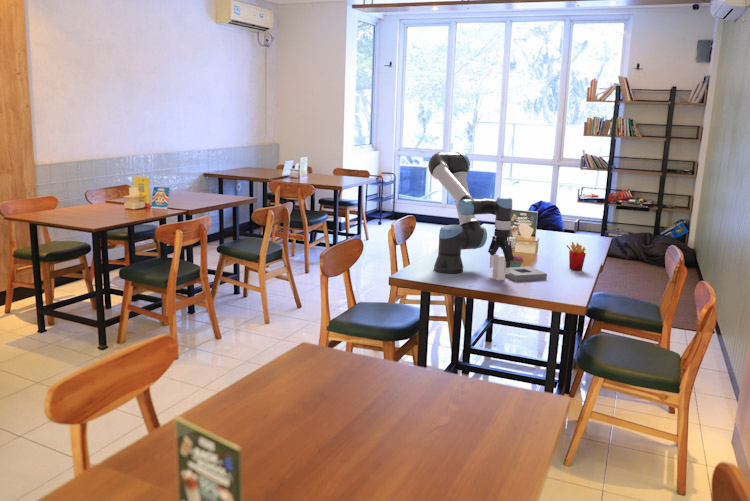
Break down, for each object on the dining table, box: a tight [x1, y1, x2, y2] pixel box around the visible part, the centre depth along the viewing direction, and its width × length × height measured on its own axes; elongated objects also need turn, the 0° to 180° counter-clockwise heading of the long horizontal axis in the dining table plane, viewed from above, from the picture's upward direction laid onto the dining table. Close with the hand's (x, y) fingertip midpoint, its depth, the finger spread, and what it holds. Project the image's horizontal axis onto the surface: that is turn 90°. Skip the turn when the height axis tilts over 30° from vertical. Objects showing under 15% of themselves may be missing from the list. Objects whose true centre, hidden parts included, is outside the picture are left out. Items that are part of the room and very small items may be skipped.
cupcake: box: [510, 246, 525, 267], centre depth 342 cm, size 9×8×12 cm
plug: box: [491, 253, 506, 281], centre depth 318 cm, size 4×4×12 cm
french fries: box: [566, 241, 587, 272], centre depth 343 cm, size 9×8×15 cm
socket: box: [505, 266, 548, 282], centre depth 326 cm, size 18×16×3 cm
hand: (499, 270), depth 318 cm, fingers open, 13 cm apart
